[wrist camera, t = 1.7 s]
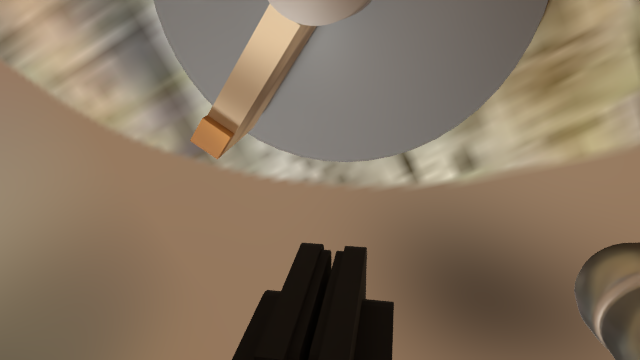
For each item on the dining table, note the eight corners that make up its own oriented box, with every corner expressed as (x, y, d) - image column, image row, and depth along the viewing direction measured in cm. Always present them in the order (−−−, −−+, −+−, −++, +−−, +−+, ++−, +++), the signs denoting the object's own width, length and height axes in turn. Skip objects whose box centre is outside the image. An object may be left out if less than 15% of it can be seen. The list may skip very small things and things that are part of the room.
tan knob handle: (323, -109, 22) (294, -146, 16) (403, -48, 22) (403, -63, 16) (212, 94, 27) (160, 120, 21) (279, 140, 27) (246, 178, 22)
